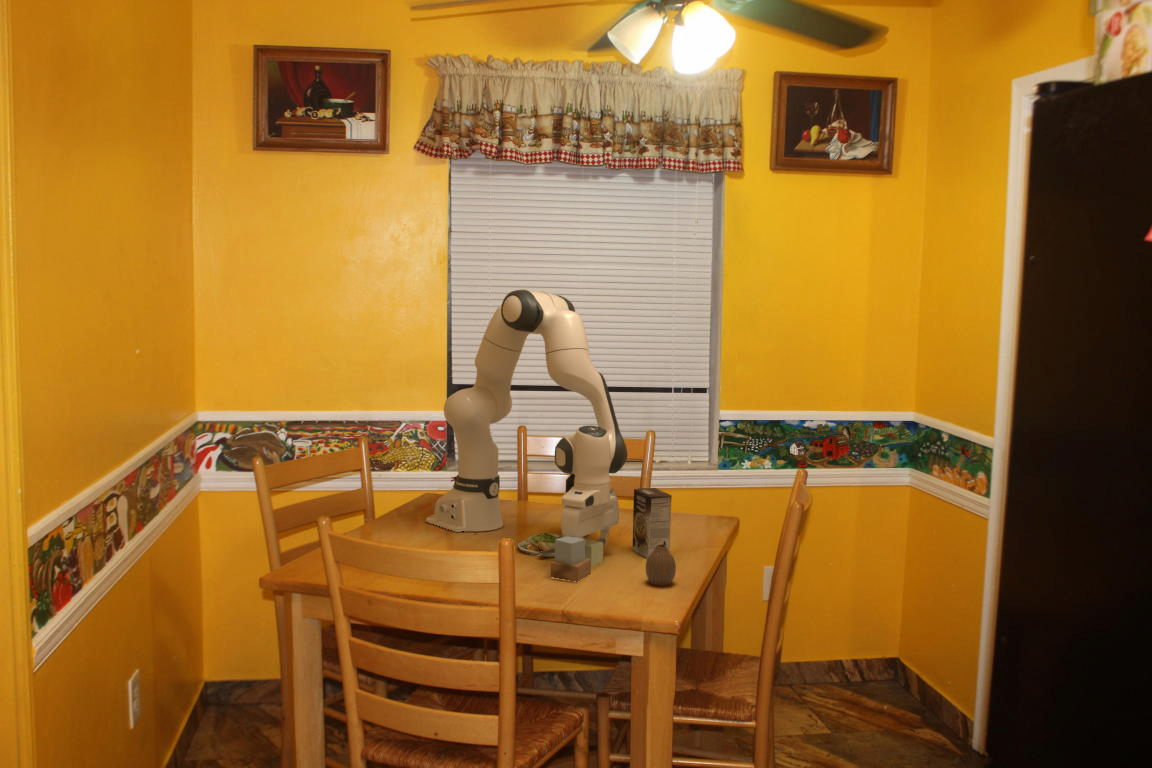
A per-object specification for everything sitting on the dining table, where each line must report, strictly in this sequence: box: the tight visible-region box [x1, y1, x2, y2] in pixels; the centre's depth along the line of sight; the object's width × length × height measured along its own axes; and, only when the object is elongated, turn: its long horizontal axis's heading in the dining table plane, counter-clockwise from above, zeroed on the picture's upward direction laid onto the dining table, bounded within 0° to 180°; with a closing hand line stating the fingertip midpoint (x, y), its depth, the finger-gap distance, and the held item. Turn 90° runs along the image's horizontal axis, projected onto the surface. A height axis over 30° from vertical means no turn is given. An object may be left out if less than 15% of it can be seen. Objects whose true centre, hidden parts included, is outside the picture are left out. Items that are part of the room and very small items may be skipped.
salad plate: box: [517, 532, 564, 558], centre depth 238 cm, size 19×18×5 cm
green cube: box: [584, 538, 604, 567], centre depth 228 cm, size 5×5×5 cm
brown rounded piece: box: [645, 544, 677, 587], centre depth 212 cm, size 7×7×9 cm
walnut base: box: [549, 558, 592, 582], centre depth 216 cm, size 7×7×4 cm
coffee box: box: [631, 487, 673, 560], centre depth 235 cm, size 9×6×16 cm
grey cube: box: [554, 536, 586, 565], centre depth 216 cm, size 5×5×5 cm
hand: (591, 549), depth 228 cm, fingers open, 8 cm apart
